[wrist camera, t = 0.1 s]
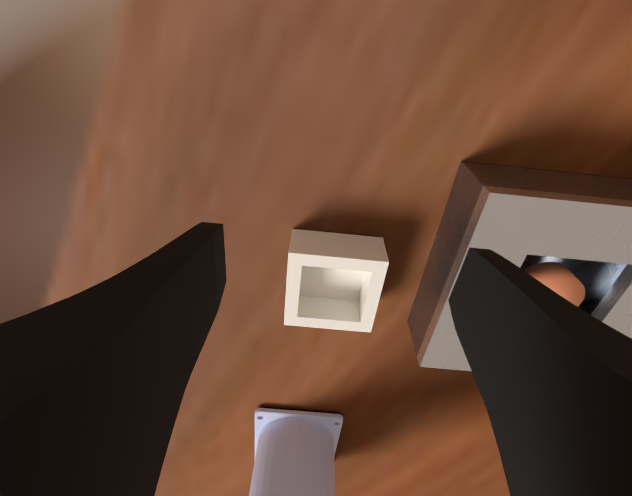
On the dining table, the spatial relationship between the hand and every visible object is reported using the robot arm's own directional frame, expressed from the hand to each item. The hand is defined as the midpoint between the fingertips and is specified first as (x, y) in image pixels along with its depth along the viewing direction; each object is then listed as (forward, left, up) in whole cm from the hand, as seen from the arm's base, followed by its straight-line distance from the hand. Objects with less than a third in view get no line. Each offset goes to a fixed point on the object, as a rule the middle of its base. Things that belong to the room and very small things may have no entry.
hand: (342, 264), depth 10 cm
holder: (-8, -1, -10) cm, 13 cm away
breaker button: (-6, -13, -8) cm, 16 cm away
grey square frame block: (-6, -13, -10) cm, 17 cm away
